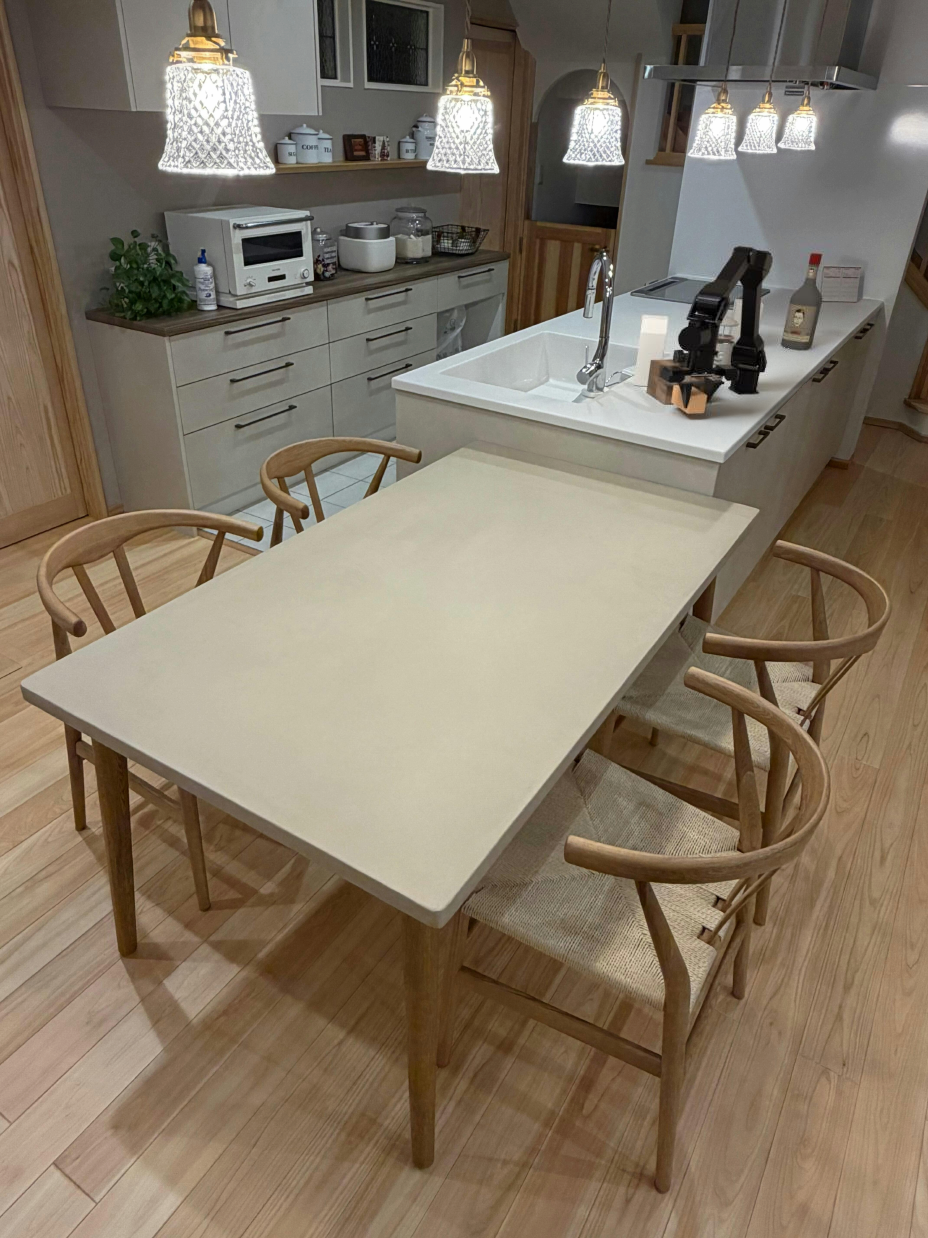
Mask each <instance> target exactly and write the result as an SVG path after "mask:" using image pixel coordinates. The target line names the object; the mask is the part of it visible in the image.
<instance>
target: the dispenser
mask: <svg viewBox="0 0 928 1238" xmlns="http://www.w3.org/2000/svg"><path fill="white" fill-rule="evenodd" d="M664 366H678V367H679V363H673V358H672V359H663V360H651V362H650V370H649V377H648V384H647V386H646V394H648V395H649V396H651V397H652V398H654V399H655V400H657V401H658V402H659V403H661V404H662V405H664V406H669V405H674V404H673V403H671V400H672V393H673V387H674V385H678V383H669V382H667V381H666V380H664V379H662V378H661V377H660V374H661V370H662V369H663V367H664ZM679 368H680V367H679ZM681 369H683V370H689V368H685V367H683V368H681ZM693 374H697V373H693ZM703 374H704V373H703ZM690 382H691V383H693V387H694V388H696V389H698V390H699V391H701V392H704V387H705V381H704V377H691V379H690ZM712 398H713V396H712V397H711V399H710V400H709V402H708V403H707V404H712Z"/></svg>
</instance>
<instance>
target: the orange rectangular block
mask: <svg viewBox="0 0 928 1238" xmlns="http://www.w3.org/2000/svg"><path fill="white" fill-rule="evenodd" d="M706 399H707V395H706V394H704V393H703V392H701V391H699V390H698V389H696V388H694V387H693V386H692V391H691V395H690V400H689V404H688V407H687V408H684V406H683V401H682V395H681V391H680V387H679V385H674V387H673V393H672V400H671V403H673V404H672V405H674V406H676V407H677V408H679V409H680V410H682V411H683V412H685V413H686V414H688V415H689V414H704V413H705V411H706V406H707V405H706ZM705 405H706V406H705Z"/></svg>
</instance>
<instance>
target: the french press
mask: <svg viewBox="0 0 928 1238" xmlns="http://www.w3.org/2000/svg"><path fill="white" fill-rule="evenodd" d="M731 294H732V292H731V293H730V296H732V295H731ZM728 311H729V310H728ZM728 311H727V313H726V315H725V317H724V319H723V321H722V323H721V324H720V327H723V331H722V333H719V334H718V340H717V346H716V350H717V351H718V356H715V357H714V363H713V367H715V366H716V365H726V364H729V365H731V353H732V348H733V346H734V344H735V342H734V341H732V339H734V338H735V337H734V336H732V335H729V333H728V334H727V333H724V332H725V328H726V327H727V328H730V327H735V326H738V325H739V323H738V322H737V321H735V320H734V319H732V317H728ZM727 343H729V344H727Z"/></svg>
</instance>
